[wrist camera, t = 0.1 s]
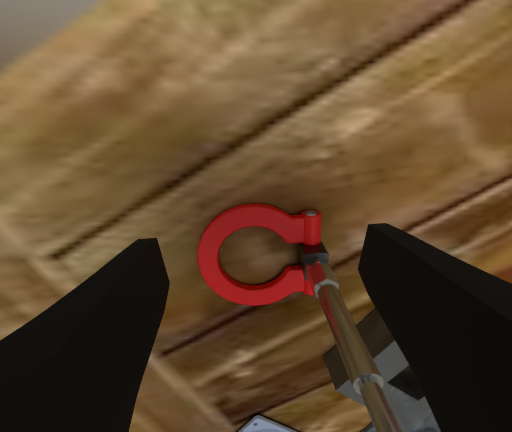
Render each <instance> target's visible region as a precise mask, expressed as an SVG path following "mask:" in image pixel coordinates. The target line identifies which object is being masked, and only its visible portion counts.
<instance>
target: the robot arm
mask: <svg viewBox="0 0 512 432" xmlns="http://www.w3.org/2000/svg"><path fill="white" fill-rule="evenodd" d="M358 271H359V273H360V276H361V278H362V281H363V283H364V286H365V288H366V290H367V293H368V295H369V297H370V298H371V300H372V302H373V304H374V305H375V307H376V309H377V311H378V312H379V314H380V316H381V318H382V319H383V321H384V323H385V324H386V326H387V328H388V329H389V331H390V333H391V334H392V336H393V338H394V340H395V341H396V343H397V345H398V346H399V348H400V350H401V351H402V353H403V355H404V357H405V358H406V360H407V362H408V364H409V366H410V368H411V369H412V371H413V373H414V375H415V377H416V379H417V381H418V383H419V386H420V388H421V390H422V392H423V394H424V396H425V398H426V400H427V402H428V405H429V407H430V409H431V411H432V413H433V415H434V418H435V420H436V422H437V424H438V427H439V429H440V431H441V432H512V284H511V283H509V282H506V281H504V280H502V279H500V278H498V277H495V276H493V275H491V274H489V273H487V272H485V271H482V270H480V269H478V268H476V267H474V266H472V265H470V264H468V263H466V262H464V261H461V260H459V259H457V258H455V257H453V256H451V255H449V254H447V253H445V252H443V251H441V250H440V249H438V248H436V247H434V246H432V245H430V244H428V243H426V242H424V241H422V240H420V239H418V238H416V237H414V236H412V235H410V234H408V233H406V232H404V231H402V230H400V229H398V228H396V227H394V226H391V225H389V224H386V223H381V224H368V228H367V232H366V236H365V241H364V245H363V249H362V254H361V258H360V262H359V267H358ZM169 284H170V282H169V279H168V275H167V272H166V268H165V265H164V261H163V258H162V254H161V251H160V247H159V244H158V240H157V238H149V239H138V240H136V241H135V242H134V243H132V244H131V245H130V246H128V247H127V248H126V249H124V250H123V251H122V252H121V253H119V254H118V255H117V256H116V257H114V258H113V259H112V260H111V261H109V262H108V263H107V264H106V265H104V266H103V267H102V268H101V269H99V270H98V271H97V272H96V273H94V274H93V275H92V276H91V277H89V278H88V279H87V280H86V281H84V282H83V283H82V284H80V285H79V286H78V287H76V288H75V289H74V290H72V291H71V292H69V293H68V294H67V295H65V296H64V297H63V298H61V299H60V300H59V301H57V302H56V303H55V304H53V305H52V306H51V307H49V308H48V309H47V310H45V311H44V312H42V313H41V314H39V315H38V316H37V317H35V318H34V319H32V320H31V321H29V322H28V323H26V324H25V325H23V326H22V327H20V328H19V329H17V330H16V331H14V332H13V333H11V334H10V335H8V336H7V337H5V338H3V339H2V340H0V432H129V428H130V423H131V419H132V415H133V410H134V406H135V402H136V398H137V394H138V391H139V388H140V384H141V381H142V378H143V375H144V372H145V369H146V366H147V363H148V360H149V357H150V353H151V350H152V347H153V344H154V341H155V338H156V335H157V332H158V329H159V326H160V323H161V320H162V317H163V314H164V310H165V305H166V300H167V295H168V290H169ZM238 432H297V431H294V430H292V429H290V428H288V427H285V426H283V425H281V424H278V423H276V422H274V421H271V420H269V419H267V418H265V417H262V416H260V415H257V416H255V417H254V418H253V419H251V420H250V421H249V422H248V423H247V424H246V425H245V426H244V427H243V428H242V429H241V430H239V431H238Z"/></svg>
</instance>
